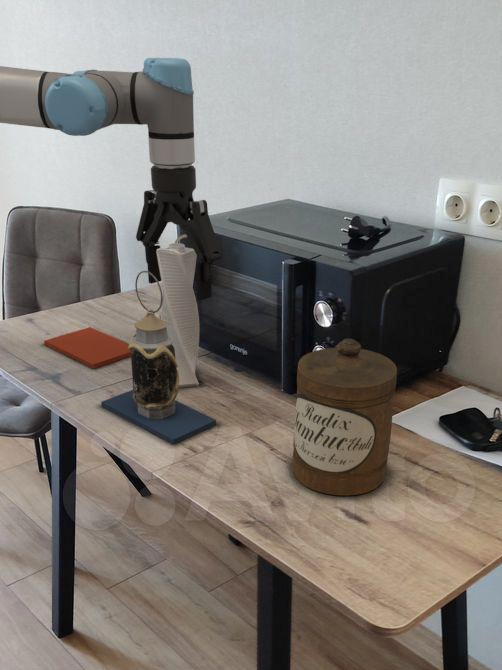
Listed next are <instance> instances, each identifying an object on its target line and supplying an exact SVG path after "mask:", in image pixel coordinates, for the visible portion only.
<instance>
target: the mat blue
mask: <svg viewBox="0 0 502 670" xmlns="http://www.w3.org/2000/svg"><path fill="white" fill-rule="evenodd" d="M133 394H134V393H133V389H131V390H129V391H126V392H123V393H120V394H118V395H116V396H112V397H110V398H107V399H105V400H101V402H100V404H101V407H102V408H104V409H106V410H108V411H109V412H111V413H113V414H115V415H117V416H119V417H120V418H122V419H124V420H127V421H128V422H130V423H132V424H134V425H136V426H138V427H139V428H141V429H143V430H145V431H147V432H149V433H151V434H152V435H154V436H156V437H158V438H159V439H162V440H164V441H165V442H168V443H170V444H171V445H176V444H178V443H180V442H182V441H184V440H187V439H189V438H191V437H193V436H195V435H197V434H199V433H202V432H204V431H206V430H208V429H210V428H212V427H215V426H217V419H215V418H213V417H211V416H210V415H209V416H208V415H207V414H204V412H203V413H202V412H200V411H198V410H197V409H194V408H192V407H190V406H188V405H186V404H183V403H181V402H180V401H177V400H176V399H175V403H176V409H175V413H174V414H172V415H170V416H167V417H165V418H163V419H149V418H147V417H145V416H143V415H141V414H139V413H138V405H137V403H136V402H135V400H134V398H133Z"/></svg>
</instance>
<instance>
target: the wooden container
mask: <svg viewBox="0 0 502 670" xmlns="http://www.w3.org/2000/svg"><path fill="white" fill-rule="evenodd" d="M397 369H398V368H397V366H396V364H395V363H394V362H393V361H392V360H391V359H390V358H388V357H387V356H385V355H383V354H380V353H378V352H375V351H372V350H368V349H364V348H362V346H361V343H360V342H359V341H356V340H355V339H354V338H345V339H343V340H341V341H339V342H338V344H336V347H327V348H322V349H318V350H313V351H311V352H308V353H306V354H305V355H303V356H302V357H301V358H300V359H299V360H298V363H297V371H296V386H297V387H296V389H297V390H296V401H295V416H294V429H293V430H294V431H293V444H292V445H293V446H292V447H293V450H292V472H293V474H294V477H295V478H296V479H297V480H298V481H299V482H300V483H301V484H302V485H303V486H305V487H307V488H309V489H311V490H314V491H316V492H319V493H322V494H327V495H331V496H356V495H362V494H366V493H369V492H371V491H373V490H375V489H377V488H378V487H379V486H381V484H382V483H383V482H384V481H385V478H386V473H387V468H388V466H387V465H388V457H389V452H390V443H391V436H392V426H393V414H394V404H395V395H396V394H395V393H396V387H397V378H398V377H397V376H398V370H397Z"/></svg>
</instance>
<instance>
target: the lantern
mask: <svg viewBox="0 0 502 670" xmlns="http://www.w3.org/2000/svg"><path fill="white" fill-rule="evenodd" d="M143 273H145V274H146V273H147V274H148V273H149V274H150V275H152V276H153V278H154V279H155V280H156V284H157V286H158V288H159V292H160V293H159V294H160V304H159V307H158V308H157V309H156V310H153V309H152V308H150V309H148V308H147V307H146V306H145V305H144V303H143V302H142V300H141V298H140V294H139V292H138V280H139V277H140V276H141V274H143ZM134 286H135V288H134V289H135V293H136V296H137V300H138V301H139V303H140V305H141V306H142V308H143V309H144V310H145V311H146V313H145V314H146V315H145V316H144V317H143V318H141V319H139V320H137V321H136V322H134V324H133V326H134V328H135V334H134V335H133V336H132V337H130V341H129V342H128V344H129V346H128V350H131V356H130V360H131V376H132V377H131V378H132V390H133V393H134V394H133V398H134V400H135V402H136V403H137V405H138V413H139V414H141V415H143V416H145V417H147V418H149V419H163V418H165V417H167V416H170V415H172V414H174V413H175V409H176V403H175V400H176V398H177V397H178V394H179V388H178V387H179V373H178V370H177V369H176V368H178V365H177V362H176V359H175V349H174V347H173V345H172V343H173V338H172V337H169V336H168V335H167V329H166V327H167V326H168V323H167V322H165V321H163V320H161V319H160V318H159V316H157V315H155V313H157V312H159V311H160V310H161V307H162V301H163V296H162V293H163V289H162V287H161V285H160V281H159V282H158V280H157V279H156V277H155V276H154V275H153V274H152V273H150V272H148V270H142V271H140V272H138V274H137V276H136V278H135V285H134ZM131 348H132V349H131Z"/></svg>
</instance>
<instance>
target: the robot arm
mask: <svg viewBox="0 0 502 670" xmlns="http://www.w3.org/2000/svg"><path fill="white" fill-rule="evenodd" d="M194 92H195V91H194V89H193V80H192V68H191V64H190V62H189V61H188V60H187V59H185V58H179V57H178V58H177V57H147V58H145V59H144V61H143V68H142V70H141V71H134V72H133V71H117V70H116V71H115V70H97V69H93V68H92V69H86V70H76V71H73V73H67V72H66V73H65V72H58V71H45V70H38V69H29V68H21V67H13V66H12V67H11V66H2V65H0V124H7V125H16V126H17V125H18V126H24V127H33V128H34V127H35V128H41V129H42V128H44V129H49V130H54V131H57V130H58V131H60V132H61V133H63V134H65V135H67V136H71V137H72V136H73V137H79V136H80V137H84V136H90V135H92V134H94V133H95V132H97V131H99V130H101V129H104V128H108V127H110V126H113V125H138V126H140V125H141V126H142V125H146V127H147V130H148V132H147V136H148V153H149V162H150V163H151V164H153V165H152V166H151V167H150V176H151V177H150V179H151V180H150V181H151V188H152V189H150V190H148V189H147V190H144V192H143V206H142V210H141V214H140V218H139V223H138V225H137V226H138V227H137V231H136V234H135V240H136V241H137V242H141V243H142V246H143V247H144V251H145V254H144V255H145V263H146V265H147V271H148V272H150V273H152V274H153V275H154V276H155V277H156V279H157V280H158V282H159V283H160V282H162V280H161V275H160V270H159V264H158V258H157V253H156V250H157V249H158V248H161V245H158V244H160V242H159V240H160V238H161V236H162V234H163V233H164V231H165V229H166V228H167V225H168V224H169V223H172V224H174V225H176V226H179V228H180V229H181V230H183V232H184V233H185V234H186V235H187V237H186V238H187V239H188V241H189V243H190V245H191V248H192V249H194V251H195V253H196V255H197V259H198V260H197V261H196V266H195V268H196V289H197V291H196V293H197V294H196V295H197V301H203V300H207V299H210V298H212V294H213V293H212V292H213V291H212V281H213V279H214V269H213V268H214V267H213V266H214V262H215V261H219V260H221V259H222V258H223V257H222V256H223V254H222V252H221V248H220V245H219V243H218V240H217V237H216V233H215V231H214V227H213V225H212V224H213V223H212V222H211V218H210V215H209V209H208V202H207V200H206V199H201V200H194V196H193V194H194V191H195V190H196V188H197V172H196V167H195V166H194V165H192V164H194V163H195V162H196V152H195V151H196V150H195V148H196V147H195V125H194V124H195V121H194V94H195V93H194ZM147 277H148V283H149V284H151V285H152V284H155V283H156V284H157V282H156V280H155V279H154V278H153V276H152V275H150V274H149V273H147Z"/></svg>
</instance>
